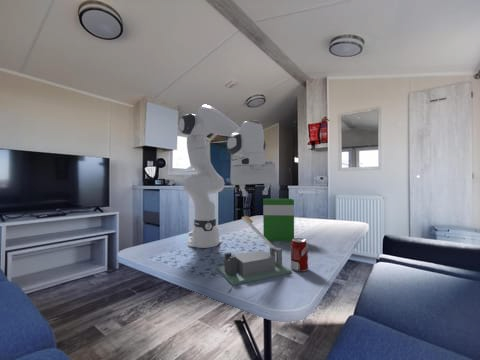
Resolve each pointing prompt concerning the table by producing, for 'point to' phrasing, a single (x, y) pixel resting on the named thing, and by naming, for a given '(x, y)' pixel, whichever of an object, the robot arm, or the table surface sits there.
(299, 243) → the soda can
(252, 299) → the table surface
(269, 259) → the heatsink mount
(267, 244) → the strap
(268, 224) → the green cereal box
